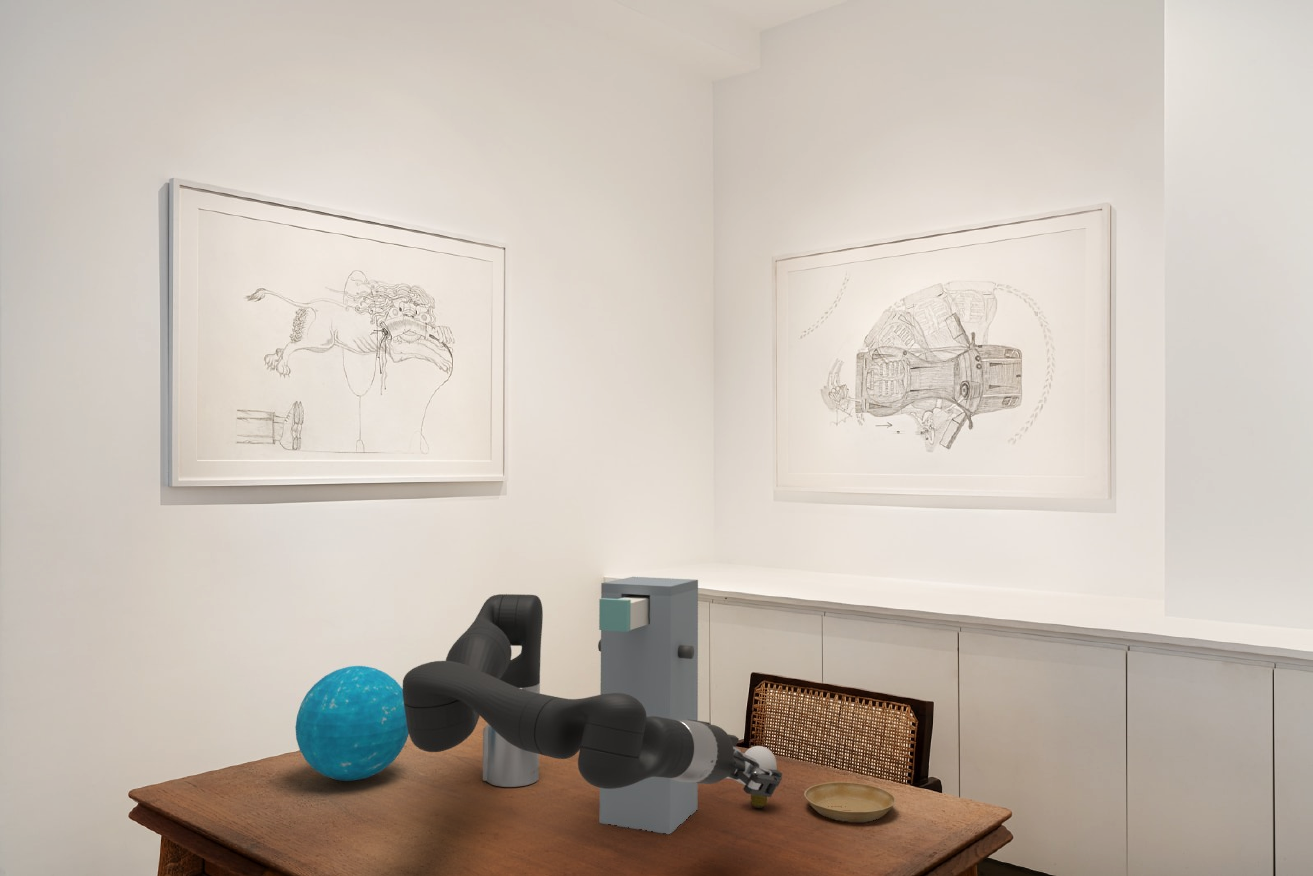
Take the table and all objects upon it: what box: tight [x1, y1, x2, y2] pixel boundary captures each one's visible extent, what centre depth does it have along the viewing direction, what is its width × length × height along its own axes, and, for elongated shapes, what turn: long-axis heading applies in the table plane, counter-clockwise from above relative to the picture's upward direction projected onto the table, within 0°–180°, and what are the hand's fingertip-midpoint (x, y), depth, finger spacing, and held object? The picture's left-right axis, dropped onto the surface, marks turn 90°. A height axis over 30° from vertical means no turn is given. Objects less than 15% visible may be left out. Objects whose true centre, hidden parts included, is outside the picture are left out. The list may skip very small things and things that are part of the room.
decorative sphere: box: [294, 665, 410, 782], centre depth 168 cm, size 20×20×20 cm
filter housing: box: [597, 576, 699, 835], centre depth 150 cm, size 16×12×38 cm
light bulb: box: [743, 745, 778, 809], centre depth 153 cm, size 6×6×10 cm
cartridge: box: [598, 594, 650, 632], centre depth 146 cm, size 5×19×5 cm, turn 157°
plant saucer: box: [803, 781, 897, 823], centre depth 152 cm, size 15×15×3 cm
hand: (755, 760), depth 131 cm, fingers open, 8 cm apart
